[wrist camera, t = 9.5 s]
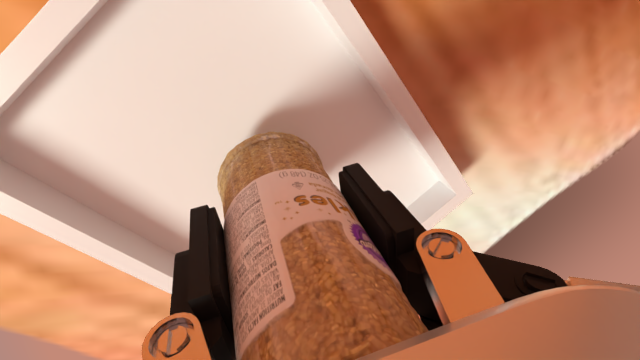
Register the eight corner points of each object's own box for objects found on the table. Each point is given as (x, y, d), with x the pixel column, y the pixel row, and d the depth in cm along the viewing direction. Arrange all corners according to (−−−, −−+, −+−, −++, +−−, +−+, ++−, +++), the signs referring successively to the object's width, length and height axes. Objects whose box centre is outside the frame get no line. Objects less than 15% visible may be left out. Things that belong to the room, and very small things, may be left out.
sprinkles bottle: (339, 157, 15) (703, 613, 4) (284, 233, 17) (461, 745, 6) (250, 106, 13) (539, 796, 2) (193, 198, 14) (185, 956, 3)
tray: (449, 174, 21) (473, 193, 19) (279, 318, 22) (286, 348, 20) (220, -166, 11) (225, -196, 9) (-57, 138, 12) (-100, 166, 11)
